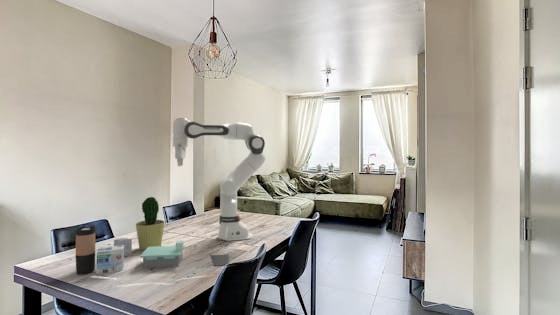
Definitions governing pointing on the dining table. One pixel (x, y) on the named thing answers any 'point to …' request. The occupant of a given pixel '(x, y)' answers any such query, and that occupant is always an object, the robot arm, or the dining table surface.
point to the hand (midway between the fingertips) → (180, 165)
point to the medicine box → (126, 243)
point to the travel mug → (85, 250)
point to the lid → (163, 251)
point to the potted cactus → (150, 225)
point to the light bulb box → (110, 259)
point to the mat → (220, 259)
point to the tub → (162, 262)
